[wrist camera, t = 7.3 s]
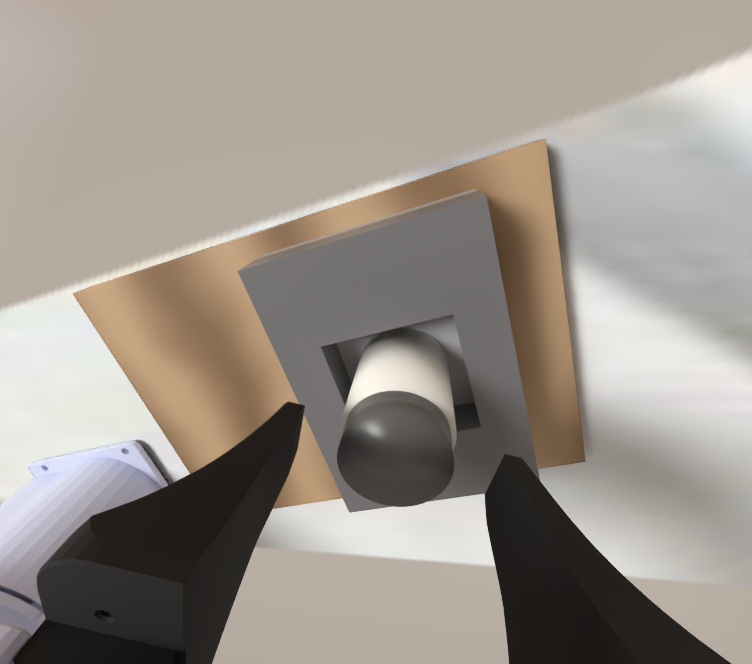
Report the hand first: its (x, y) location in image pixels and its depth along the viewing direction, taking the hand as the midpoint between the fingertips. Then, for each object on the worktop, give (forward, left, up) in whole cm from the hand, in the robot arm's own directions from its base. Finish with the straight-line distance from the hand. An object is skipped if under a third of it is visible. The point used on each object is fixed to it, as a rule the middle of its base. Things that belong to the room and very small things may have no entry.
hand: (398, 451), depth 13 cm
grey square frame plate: (0, 0, -7) cm, 7 cm away
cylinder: (0, 0, -6) cm, 6 cm away
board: (-4, 0, -8) cm, 9 cm away
